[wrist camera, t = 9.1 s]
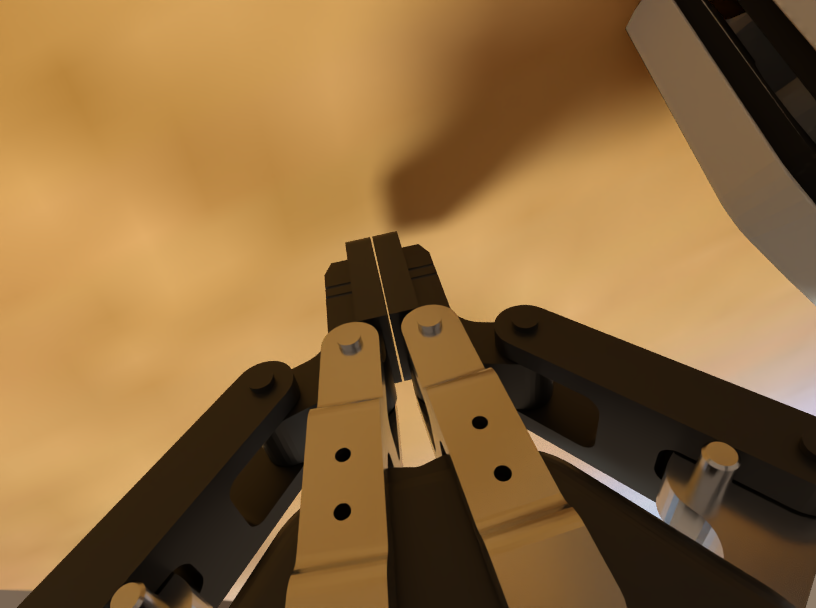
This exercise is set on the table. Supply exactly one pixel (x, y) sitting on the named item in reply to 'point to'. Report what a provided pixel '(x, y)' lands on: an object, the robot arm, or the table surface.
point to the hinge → (745, 113)
